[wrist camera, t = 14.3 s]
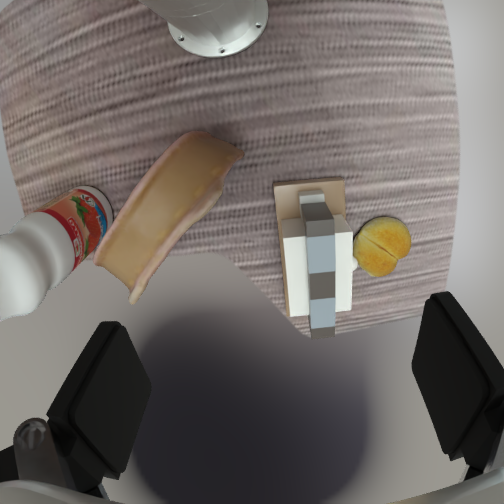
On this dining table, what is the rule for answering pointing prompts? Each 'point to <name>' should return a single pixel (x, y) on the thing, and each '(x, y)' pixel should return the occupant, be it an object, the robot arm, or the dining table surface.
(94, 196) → the fruit juice
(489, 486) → the robot arm
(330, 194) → the white block on board
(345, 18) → the dining table surface
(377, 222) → the bread roll
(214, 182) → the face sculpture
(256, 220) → the dining table surface
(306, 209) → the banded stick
